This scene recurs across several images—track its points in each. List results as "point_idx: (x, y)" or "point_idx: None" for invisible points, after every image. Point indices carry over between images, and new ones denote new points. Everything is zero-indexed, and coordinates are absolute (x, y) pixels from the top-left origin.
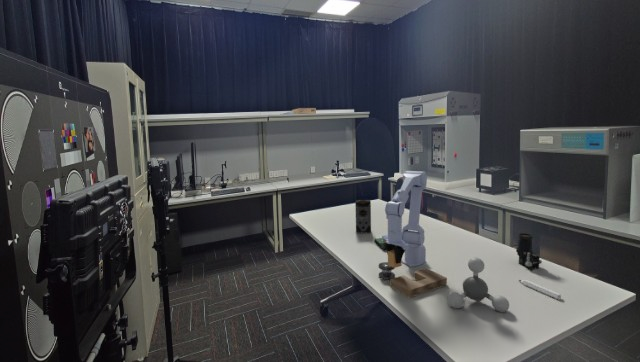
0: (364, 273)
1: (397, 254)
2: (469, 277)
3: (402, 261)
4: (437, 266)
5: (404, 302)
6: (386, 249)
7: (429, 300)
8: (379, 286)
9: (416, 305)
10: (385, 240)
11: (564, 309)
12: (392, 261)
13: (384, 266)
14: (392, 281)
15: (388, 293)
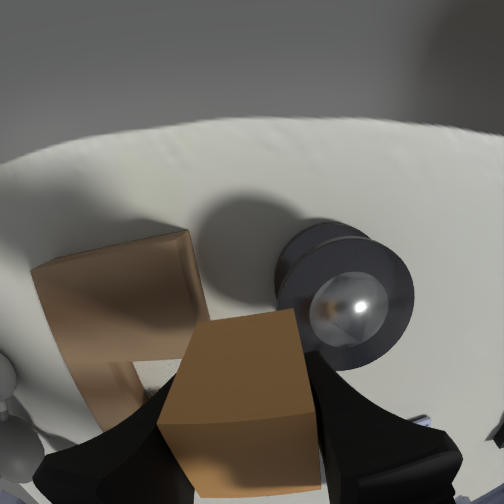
0: (424, 159)
1: (105, 436)
2: (4, 469)
3: (419, 422)
4: (300, 498)
5: (29, 213)
6: (363, 416)
7: (32, 323)
8: (211, 157)
9: (8, 250)
10: (488, 498)
11: (34, 488)
12: (213, 350)
13: (340, 283)
14: (157, 242)
15: (113, 173)
